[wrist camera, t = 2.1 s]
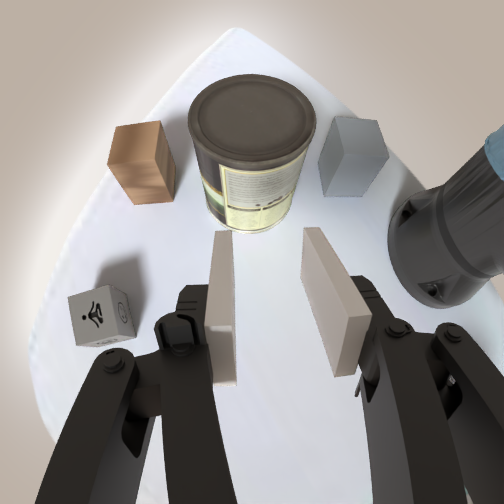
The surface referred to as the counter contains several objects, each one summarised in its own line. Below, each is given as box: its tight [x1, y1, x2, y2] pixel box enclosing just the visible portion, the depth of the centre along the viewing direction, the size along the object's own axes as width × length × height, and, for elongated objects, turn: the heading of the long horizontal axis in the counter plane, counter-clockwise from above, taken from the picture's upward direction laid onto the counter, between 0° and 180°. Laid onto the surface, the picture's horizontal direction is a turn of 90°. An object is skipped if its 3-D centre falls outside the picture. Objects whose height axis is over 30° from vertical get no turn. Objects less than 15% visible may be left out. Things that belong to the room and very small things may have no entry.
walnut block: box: [107, 121, 176, 205], centre depth 32 cm, size 5×5×9 cm
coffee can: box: [188, 74, 316, 234], centre depth 29 cm, size 10×10×14 cm
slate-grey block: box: [318, 117, 389, 197], centre depth 33 cm, size 5×5×9 cm
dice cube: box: [68, 285, 136, 347], centre depth 29 cm, size 5×5×5 cm
